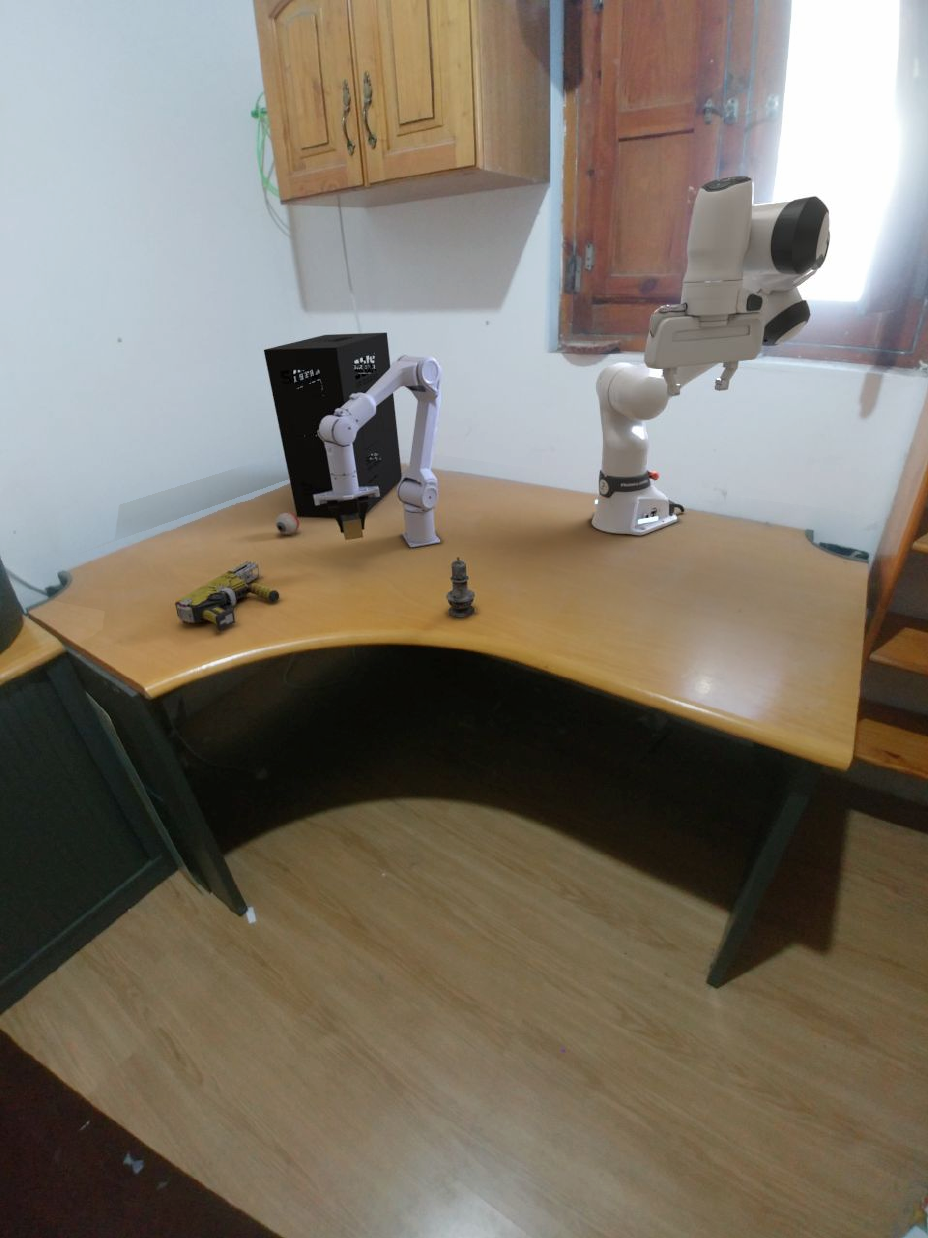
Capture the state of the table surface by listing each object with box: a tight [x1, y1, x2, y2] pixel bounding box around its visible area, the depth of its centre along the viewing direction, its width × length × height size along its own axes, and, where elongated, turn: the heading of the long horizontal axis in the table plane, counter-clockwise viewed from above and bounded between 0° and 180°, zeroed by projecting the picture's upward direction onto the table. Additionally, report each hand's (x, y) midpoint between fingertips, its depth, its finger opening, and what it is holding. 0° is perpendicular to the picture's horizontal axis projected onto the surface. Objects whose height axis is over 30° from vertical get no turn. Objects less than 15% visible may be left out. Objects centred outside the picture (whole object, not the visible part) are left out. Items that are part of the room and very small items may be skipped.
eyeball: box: [275, 511, 300, 536], centre depth 163 cm, size 6×6×6 cm
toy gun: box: [174, 560, 280, 631], centre depth 130 cm, size 5×24×15 cm
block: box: [341, 513, 364, 541], centre depth 140 cm, size 4×5×4 cm
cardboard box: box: [263, 332, 403, 518], centre depth 180 cm, size 38×20×45 cm, turn 167°
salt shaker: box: [445, 556, 476, 618], centre depth 120 cm, size 6×6×12 cm
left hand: (352, 529), depth 140 cm, fingers closed on block, 4 cm apart
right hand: (697, 392), depth 103 cm, fingers open, 8 cm apart
